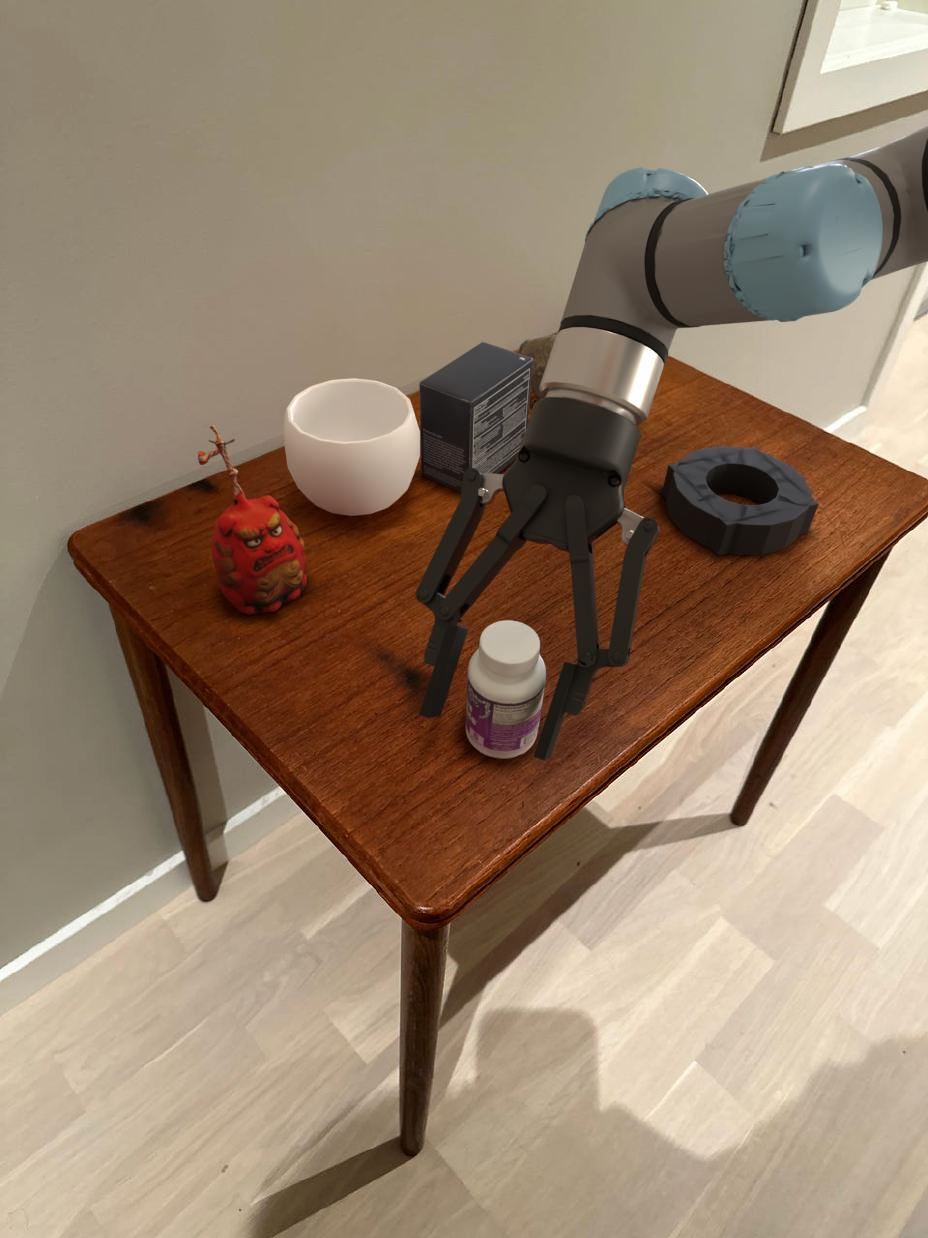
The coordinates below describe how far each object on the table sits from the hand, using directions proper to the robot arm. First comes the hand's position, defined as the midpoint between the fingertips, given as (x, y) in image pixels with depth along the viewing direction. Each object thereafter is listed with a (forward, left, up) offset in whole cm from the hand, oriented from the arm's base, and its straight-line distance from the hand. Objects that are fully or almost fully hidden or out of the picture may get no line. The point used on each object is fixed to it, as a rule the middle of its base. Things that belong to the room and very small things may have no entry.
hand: (485, 735), depth 59 cm
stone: (+41, -28, -4) cm, 50 cm away
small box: (+35, -13, -4) cm, 38 cm away
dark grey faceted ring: (+19, -34, -4) cm, 39 cm away
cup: (+33, 0, -4) cm, 34 cm away
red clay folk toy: (+23, +11, -4) cm, 26 cm away
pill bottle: (+2, -2, -4) cm, 5 cm away
